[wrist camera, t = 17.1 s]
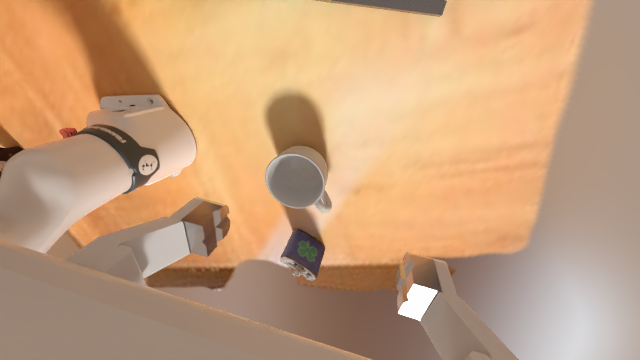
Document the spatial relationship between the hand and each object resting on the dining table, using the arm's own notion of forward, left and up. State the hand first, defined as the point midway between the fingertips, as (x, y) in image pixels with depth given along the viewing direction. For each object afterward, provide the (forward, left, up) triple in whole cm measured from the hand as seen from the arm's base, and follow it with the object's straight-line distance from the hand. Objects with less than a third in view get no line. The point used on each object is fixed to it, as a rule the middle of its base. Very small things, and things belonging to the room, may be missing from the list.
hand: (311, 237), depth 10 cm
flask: (-5, -34, -33) cm, 48 cm away
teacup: (-7, -15, -33) cm, 37 cm away
